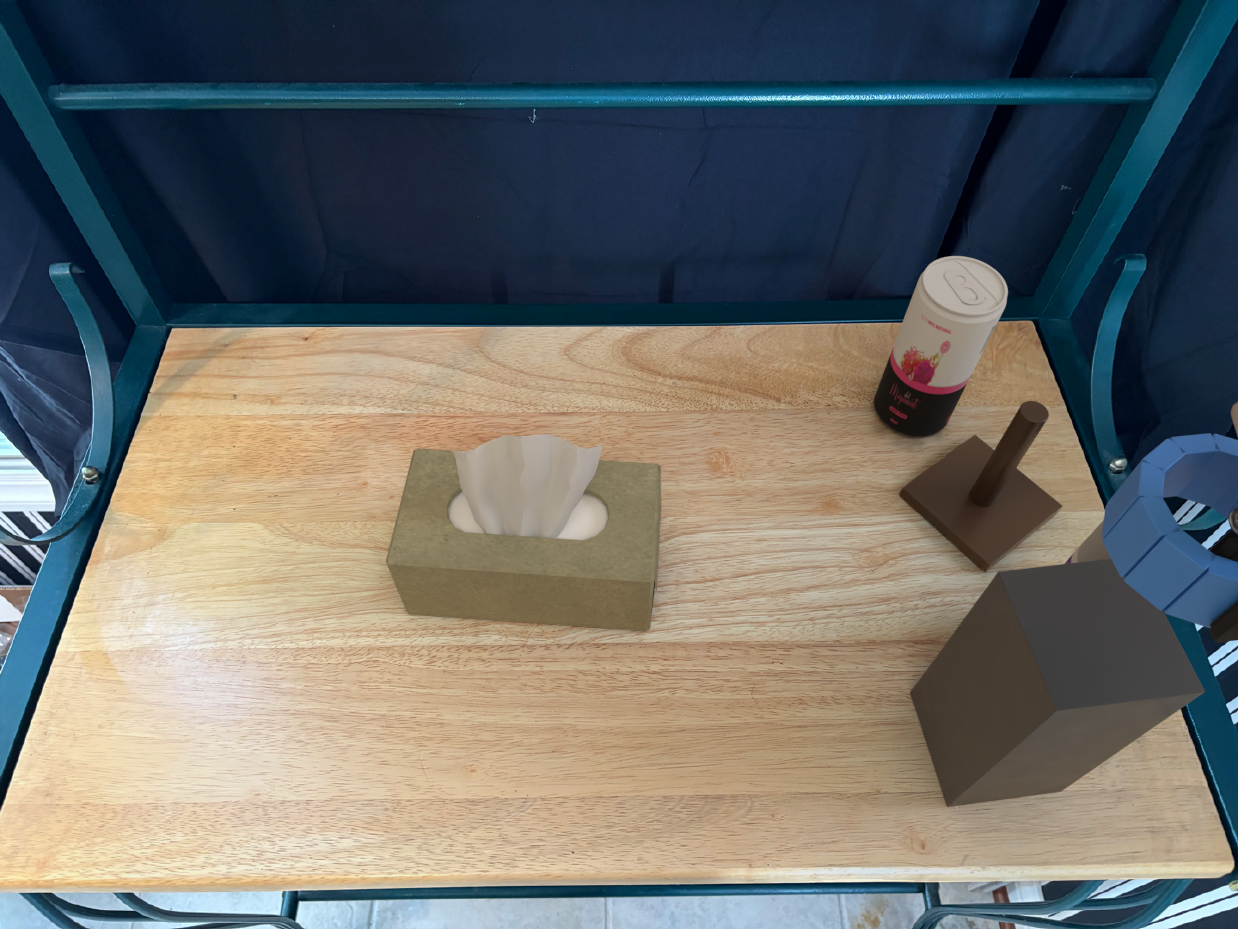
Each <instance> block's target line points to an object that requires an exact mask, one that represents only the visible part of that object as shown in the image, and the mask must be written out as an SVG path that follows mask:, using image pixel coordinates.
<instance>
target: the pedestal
mask: <svg viewBox="0 0 1238 929" xmlns="http://www.w3.org/2000/svg"><path fill="white" fill-rule="evenodd" d="M1124 578H1125V577H1120V575H1119V573H1118V571H1117V569H1116V567H1115V565H1114V563H1113V561H1112V559H1104V560H1096V561H1087V562H1078V563H1069V564H1065V563H1062V564H1061V563H1060V564H1054V565H1045V566H1035V567H1026V568H1017V569H1008V570H1001V571H997V573H996V574H995V575H994V577H993V578H992V579H991V581H990V582H989V584H988V585H987V586H986V588H985V589H984V590H983V592H982V593H981V595H980V596H979V597H978V599H977V600H976V601H975V603H974V604H973V606H972V607H971V608H970V610H969V611H968V612H967V614H966V615H965V617H964V618H963V619H962V620H961V622H960V624H959V625H958V626H957V628H956V629H955V630H954V631H953V633H952V634H951V635H950V637H949V638H948V640H947V641H946V642H945V644H944V645H943V647H942V648H941V649H940V650H939V652H938V653H937V655H936V656H935V657H934V659H933V660H932V662H931V663H930V664H929V666H928V667H927V668H926V669H925V671H924V672H923V674H922V675H921V677H920V678H919V679H918V680H917V682H916V683H915V685H914V686H913V688H912V689H910V692H909V693H910V697H911V700H912V703H913V707H914V709H915V712H916V715H917V718H918V722H919V726H920V728H921V730H922V733H923V737H924V741H925V743H926V746H927V750H928V752H929V755H930V758H931V761H932V764H933V767H934V771H935V774H936V777H937V779H938V782H939V785H940V789H941V792H942V796H943V798H944V801H945V804H946V807H947V808H949V807H951V808H952V807H956V806H957V807H958V806H965V805H973V804H979V803H987V802H994V801H1002V800H1008V799H1009V800H1010V799H1017V798H1023V797H1030V796H1038V795H1046V794H1053V793H1061V792H1063V791H1064V790H1066V789H1067V788H1069V787H1070V786H1071V785H1073V784H1075V783H1076V782H1077V781H1079V780H1080V779H1082V778H1083V777H1084V776H1086V775H1087V774H1089V773H1091V771H1093V770H1095V769H1096V768H1097V767H1099V766H1100V765H1102V764H1104V763H1105V762H1106V761H1108V760H1110V758H1112V757H1113V756H1115V755H1117V754H1118V753H1119V752H1120V751H1122V750H1124V749H1125V748H1126V747H1128V746H1129V745H1130V744H1132V743H1134V742H1135V741H1136V740H1138V739H1140V738H1141V737H1142V736H1144V735H1145V734H1146V733H1148V732H1150V731H1151V730H1152V729H1154V728H1155V727H1157V726H1158V725H1159V724H1161V723H1162V722H1164V721H1165V720H1168V718H1170V717H1171V716H1173V715H1174V714H1176V713H1177V712H1178V711H1180V710H1181V709H1182V708H1184V707H1185V706H1187V705H1189V704H1190V703H1191V702H1193V701H1195V699H1197V698H1198V697H1200V696H1201V695H1203V694H1204V693H1206V691H1205V688H1204V687H1203V684H1202V683H1201V681H1200V679H1199V677H1198V675H1197V673H1196V671H1195V669H1194V667H1193V665H1192V664H1191V661H1190V660H1189V658H1188V655H1187V654H1186V652H1185V650H1184V648H1183V646H1182V645H1181V642H1180V640H1179V639H1178V637H1177V635H1176V633H1175V631H1174V629H1173V627H1172V625H1171V623H1170V622H1169V619H1168V617H1167V614H1165V611H1164V609H1163V610H1162V611H1160V610H1159V609H1157V608H1156V607H1155V606H1154V605H1152V604H1151V603H1150V602H1149V601H1148V600H1146V599H1145V598H1144V597H1143V596H1141V595H1140V594H1139V593H1138V592H1137V591H1135V590H1134V589H1133V588H1132V587H1130V586H1129V585H1128V584H1127V583H1126V582H1124Z"/></svg>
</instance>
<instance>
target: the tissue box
mask: <svg viewBox="0 0 1238 929" xmlns="http://www.w3.org/2000/svg"><path fill="white" fill-rule="evenodd" d="M602 450H603V444H602V445H598V446H593V447H592V446H591V447H588V448H585V447H581V446H578V445H576V444H575V443H572V442H571V441H568V440H567V439H564V438H562V437H558V436H556V435H554V434H546V433H545V434H544V433H543V434H542V433H541V434H532V435H508V434H505V435H501V436H498V437H496V438H493V439H490V440H488V441H486V442H484V443H483V444H480V445H479V446H476V447H475V448H472V449H469V450H456V449H434V448H433V449H431V448H415V449H413V451H412V456H411V459H410V463H409V467H408V471H407V474H406V479H405V483H404V487H403V490H402V495H401V499H400V503H399V507H398V511H397V515H396V518H395V523H394V527H393V531H392V535H391V539H390V543H389V546H388V551H387V555H386V559H385V563H386V565H387V568H388V570H389V573H390V575H391V578H392V580H393V583H394V585H395V587H396V590H397V592H398V595H399V598H400V599H401V602H402V604H403V607H404V609H405V611H406V613H407V615H413V616H414V615H415V616H416V615H417V616H429V617H444V618H455V619H456V618H458V619H472V620H485V621H499V622H514V623H515V622H516V623H527V624H528V623H529V624H542V625H559V626H571V627H572V626H573V627H584V628H585V627H587V628H599V629H600V628H601V629H614V630H627V631H629V630H630V631H640V632H641V631H643V632H644V631H645V632H647V631H649V630H650V629H651V622H652V614H653V607H654V599H655V592H656V593H658V578H659V576H658V575H659V558H660V540H661V524H662V523H661V522H662V471H661V470H662V468H661V467H662V466H661V465H660V464H658V463H649V462H636V461H635V462H633V461H621V460H620V461H619V460H604V459H600V458H601V454H602Z"/></svg>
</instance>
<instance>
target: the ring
mask: <svg viewBox="0 0 1238 929" xmlns="http://www.w3.org/2000/svg"><path fill="white" fill-rule="evenodd" d="M1173 497H1178V498H1180V499H1185V500H1187V501H1190V502H1194V503H1197V504H1200V505H1203V506H1207V507H1209V508H1212V509H1213V510H1214V511H1216V512H1217V513H1219V515H1221V516H1223V517H1224V518H1225V519H1227V520H1228V515H1229V511H1230V510H1231V508H1232V507H1233V506H1234V505H1235V504H1236V503H1237V502H1238V439H1235V438H1232V437H1228V436H1226V435H1225V436H1224V435H1221V434H1218V433H1213V434H1211V433H1199V434H1189V435H1180V436H1171V437H1170V438H1166V439H1164V440H1163V441H1162V442H1161V443H1159V445H1157V446H1156V447H1155V448H1154V449H1153V450H1151V451H1150V452H1149V453H1148V454H1146V455H1145V456H1144V457H1143V458H1142V459H1140V461H1139V463H1138V464H1137V465H1136V466H1135V468H1134V469H1132V472H1131V473H1130V474H1129V475H1128V476H1127V477H1126V478H1125V480H1124V481H1123V483H1122V484H1121V485H1120V486H1119V487H1118V489H1117V490H1116V491H1115V492H1114V494H1113V495H1112V496H1111V497H1110V499H1109V500H1108V501H1107V503H1106V505H1105V508H1104V515H1103V520H1104V522H1103V530H1102V538H1103V539H1104V540H1103V544H1104V546H1105V548H1106V550H1107V552H1108V554H1109V556H1110V557H1111V559H1112V561H1113V563H1114V565H1115V567H1116V569H1117V571H1118V573H1119V575H1120V577H1125V578H1124V582H1126V583H1127V584H1128V585H1129V586H1130V587H1132V588H1133V589H1134V590H1135V591H1137V592H1138V593H1139V594H1140V595H1141V596H1143V597H1144V598H1145V599H1146V600H1148V601H1149V602H1150V603H1151V604H1152V605H1154V606H1155V607H1156V608H1157V609H1159V610H1160V611H1162V610H1163V611H1164V614H1165V615H1168V616H1170V617H1174V618H1177V619H1179V620H1180V619H1181V620H1183V621H1187V622H1189V623H1192V624H1195V625H1199V626H1201V627H1205V628H1207V629H1210V628H1211V626H1210V624H1211V623H1212V622H1213V621H1214V620H1216V619H1217V618H1218V617H1219V616H1220V615H1222V614H1223V613H1224V612H1225V611H1226V610H1228V609H1229V608H1230V607H1231V606H1232V605H1234V604H1235V603H1236V602H1237V601H1238V562H1236V561H1233V560H1230V559H1227V558H1223V557H1220V556H1217V555H1214V554H1213V553H1212V552H1210V551H1209V550H1210V549H1208V548H1207V547H1205V546H1204V545H1203V544H1201V543H1200V542H1199V541H1197V540H1196V539H1195V538H1194V537H1192V536H1191V535H1190V534H1188V533H1187V532H1186V531H1185V530H1183V529H1182V528H1181V527H1180V525H1179V524H1178V522H1177V520H1176V519H1175V517H1174V514H1173V513H1172V511H1171V510H1170V508H1169V506H1168V504H1167V502H1166V500H1164V498H1173Z"/></svg>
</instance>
